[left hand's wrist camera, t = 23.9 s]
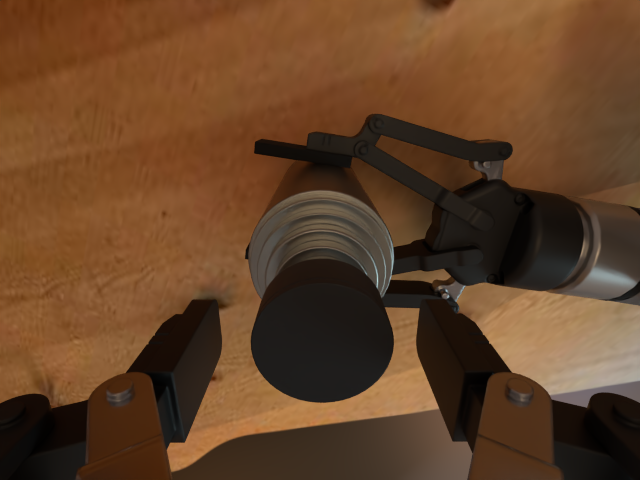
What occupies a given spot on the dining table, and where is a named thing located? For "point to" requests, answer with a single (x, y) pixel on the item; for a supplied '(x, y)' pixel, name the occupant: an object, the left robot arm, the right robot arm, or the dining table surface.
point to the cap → (322, 332)
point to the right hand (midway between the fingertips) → (253, 199)
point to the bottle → (320, 226)
